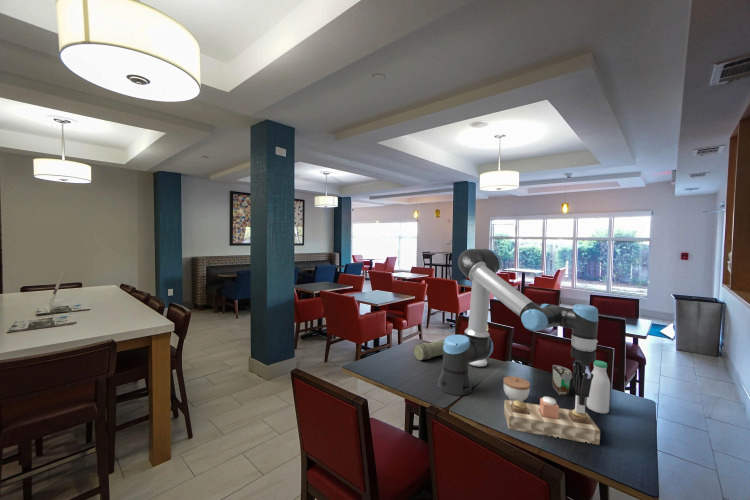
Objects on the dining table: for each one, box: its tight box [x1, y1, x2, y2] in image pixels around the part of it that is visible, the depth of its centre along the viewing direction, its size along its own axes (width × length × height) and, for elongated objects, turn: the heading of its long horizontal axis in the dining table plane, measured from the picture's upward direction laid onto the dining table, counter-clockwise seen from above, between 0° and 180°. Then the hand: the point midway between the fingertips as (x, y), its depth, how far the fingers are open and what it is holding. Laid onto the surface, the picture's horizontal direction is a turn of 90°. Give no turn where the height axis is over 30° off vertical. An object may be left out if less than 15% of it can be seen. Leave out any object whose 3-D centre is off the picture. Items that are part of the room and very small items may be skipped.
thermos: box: [413, 338, 445, 361], centre depth 187 cm, size 9×12×35 cm
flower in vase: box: [469, 324, 489, 367], centre depth 174 cm, size 13×11×25 cm
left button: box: [511, 400, 528, 414], centre depth 120 cm, size 5×5×6 cm
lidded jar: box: [502, 375, 531, 402], centre depth 138 cm, size 11×11×9 cm
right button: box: [568, 408, 590, 424], centre depth 115 cm, size 5×5×6 cm
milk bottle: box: [585, 359, 611, 414], centre depth 132 cm, size 8×8×20 cm
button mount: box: [503, 399, 601, 446], centre depth 118 cm, size 29×12×5 cm, turn 75°
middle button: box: [539, 396, 560, 419], centre depth 118 cm, size 5×5×6 cm
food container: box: [552, 364, 573, 397], centre depth 147 cm, size 12×6×10 cm, turn 168°
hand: (579, 412), depth 115 cm, fingers closed
